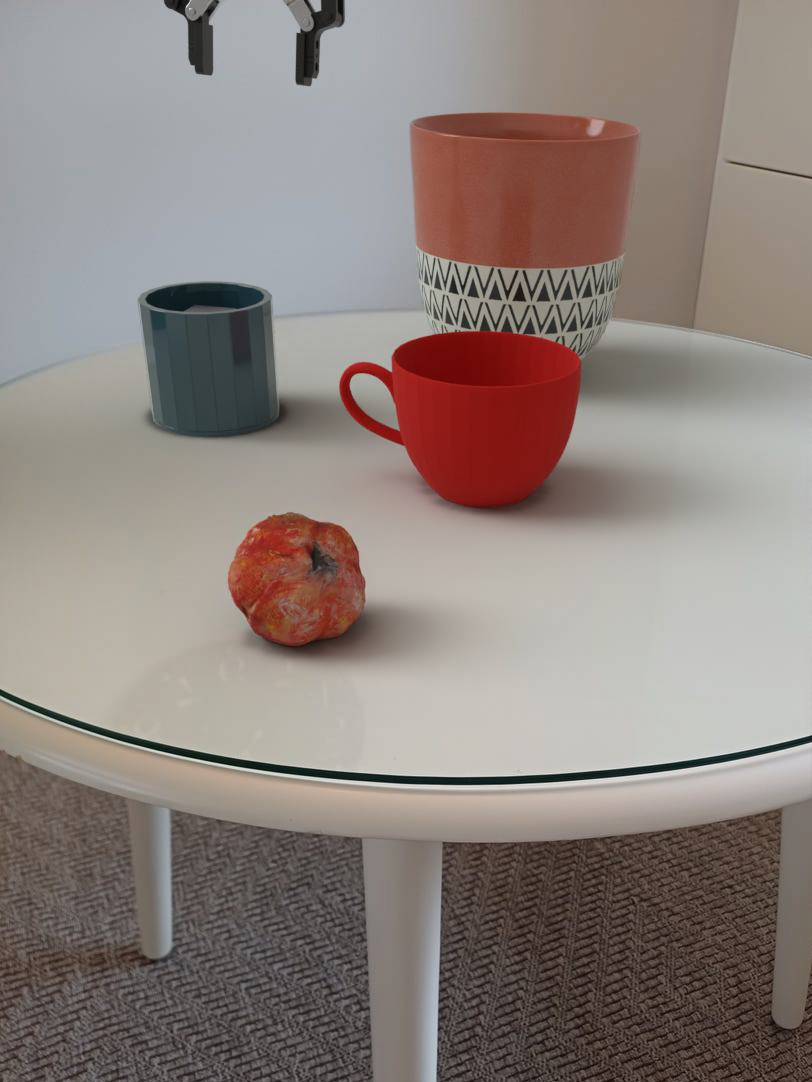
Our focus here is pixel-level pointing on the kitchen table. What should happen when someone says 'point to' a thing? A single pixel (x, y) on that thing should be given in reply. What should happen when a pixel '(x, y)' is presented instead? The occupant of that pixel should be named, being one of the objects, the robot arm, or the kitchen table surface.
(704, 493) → the kitchen table surface
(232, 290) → the crock
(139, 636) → the kitchen table surface
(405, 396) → the ceramic cup
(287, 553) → the pomegranate
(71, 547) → the kitchen table surface
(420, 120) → the planter
